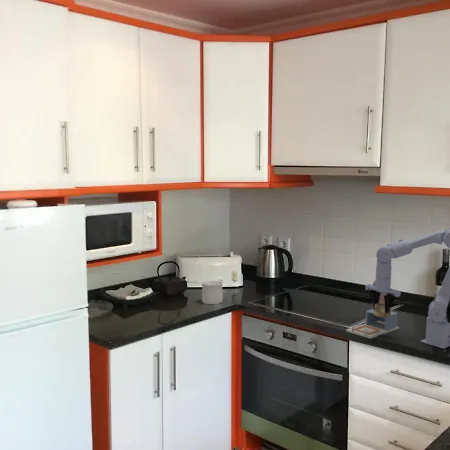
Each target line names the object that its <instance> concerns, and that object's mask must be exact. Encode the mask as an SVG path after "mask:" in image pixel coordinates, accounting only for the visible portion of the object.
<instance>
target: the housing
mask: <svg viewBox="0 0 450 450" xmlns="http://www.w3.org/2000/svg"><path fill="white" fill-rule="evenodd" d="M398 315H399V313H398V312H395V311H392V310H391V316H388V317H385V318H383V317H379V316H375V315H374V309H372V308H371V309H368V310H365V320H364V321H365V322H364V324H370V323H373V322H376V321H379V322H382V323H385V328H384V329H385V330H388V329H390V328H393V327H396V326H397V327H398V322H399V321H398V318H399V317H398Z"/></svg>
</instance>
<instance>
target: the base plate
mask: <svg viewBox="0 0 450 450" xmlns="http://www.w3.org/2000/svg"><path fill="white" fill-rule="evenodd" d="M384 328H385V322H383V321H379V320H378V321H376V322H373V323H370V324H365V323H363V324H359V325H357V326H355V325H352V326H351V327H349V328H346V329H345V332H346V333H350V334H353V335H357V336H360V337H364V338H367V339H374V338H376V337H379V335H380V336H382V334H383V335H385V334H388V333H391V332H393V331H396V330H399V329H400V326H398V325H397V326H396V327H393V328H390V329H388V330H385V329H384Z"/></svg>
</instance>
